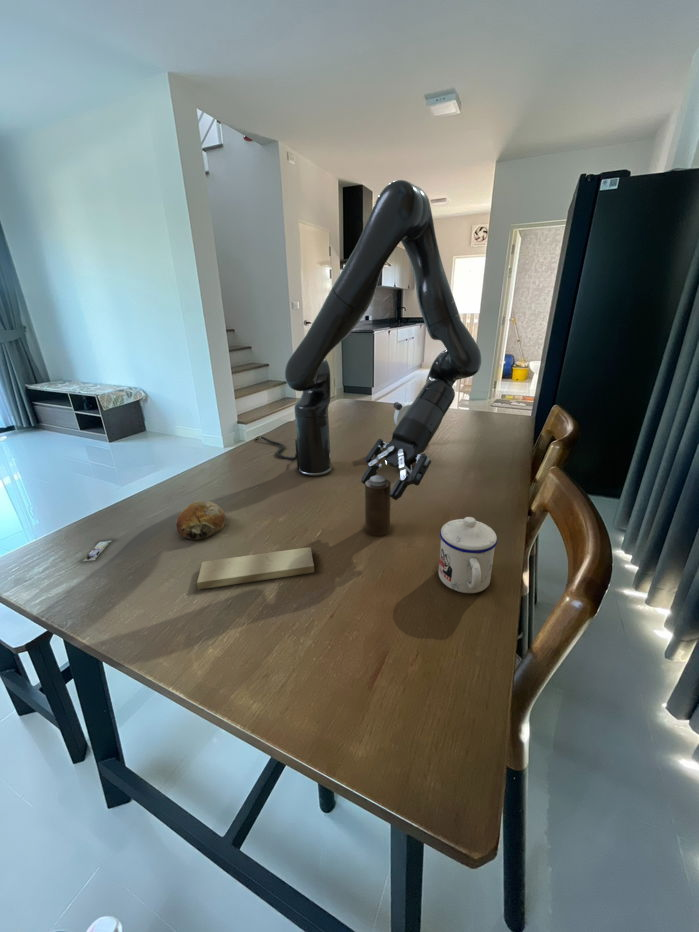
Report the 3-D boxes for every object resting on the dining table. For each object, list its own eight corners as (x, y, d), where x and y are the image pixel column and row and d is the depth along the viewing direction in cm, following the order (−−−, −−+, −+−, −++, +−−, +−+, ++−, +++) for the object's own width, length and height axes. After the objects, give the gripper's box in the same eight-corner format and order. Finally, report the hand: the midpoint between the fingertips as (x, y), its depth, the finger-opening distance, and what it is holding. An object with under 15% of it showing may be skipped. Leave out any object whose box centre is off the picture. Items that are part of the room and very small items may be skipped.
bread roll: (232, 538, 87) (237, 503, 87) (202, 544, 77) (207, 504, 77) (197, 531, 90) (201, 497, 90) (163, 536, 80) (168, 498, 80)
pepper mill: (360, 530, 81) (359, 479, 77) (375, 520, 85) (375, 471, 80) (380, 539, 78) (380, 486, 74) (394, 528, 82) (395, 477, 77)
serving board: (198, 589, 65) (196, 582, 65) (203, 568, 71) (202, 561, 70) (314, 572, 69) (313, 565, 68) (311, 553, 74) (310, 546, 74)
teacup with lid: (433, 560, 71) (437, 505, 66) (483, 561, 70) (490, 506, 66) (444, 607, 60) (449, 545, 55) (503, 609, 59) (513, 546, 55)
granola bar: (101, 543, 80) (99, 539, 80) (112, 542, 81) (111, 538, 80) (83, 563, 74) (81, 558, 74) (95, 562, 74) (94, 558, 74)
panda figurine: (421, 439, 136) (423, 397, 130) (433, 449, 126) (435, 405, 120) (388, 442, 134) (389, 399, 128) (398, 453, 124) (399, 407, 118)
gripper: (385, 409, 83) (345, 472, 81) (437, 422, 72) (393, 495, 70) (402, 428, 88) (365, 487, 86) (453, 443, 77) (412, 510, 75)
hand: (378, 490), depth 78 cm, fingers open, 8 cm apart
